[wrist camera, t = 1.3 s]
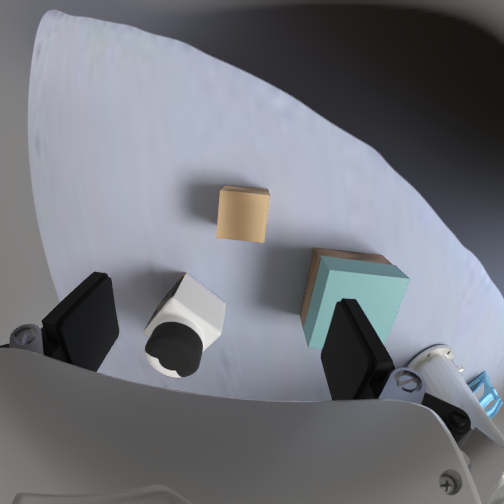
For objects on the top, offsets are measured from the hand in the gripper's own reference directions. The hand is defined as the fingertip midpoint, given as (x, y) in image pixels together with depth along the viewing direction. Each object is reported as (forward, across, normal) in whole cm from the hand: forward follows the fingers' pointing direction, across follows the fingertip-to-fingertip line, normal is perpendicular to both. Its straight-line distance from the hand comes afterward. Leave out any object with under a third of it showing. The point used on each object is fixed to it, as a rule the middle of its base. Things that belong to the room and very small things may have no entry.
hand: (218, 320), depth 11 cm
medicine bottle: (+24, +6, +14) cm, 28 cm away
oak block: (+24, 0, 0) cm, 24 cm away
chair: (+23, -62, +35) cm, 75 cm away
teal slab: (+20, -14, +9) cm, 26 cm away
